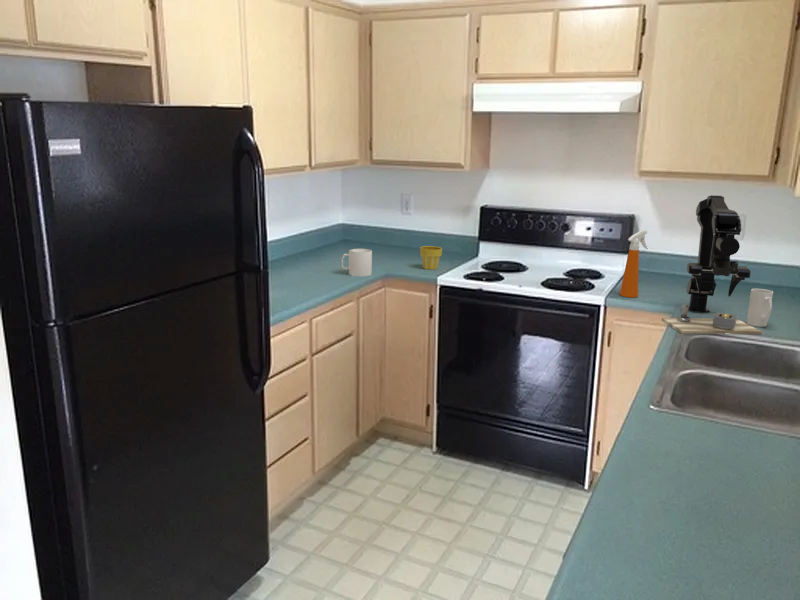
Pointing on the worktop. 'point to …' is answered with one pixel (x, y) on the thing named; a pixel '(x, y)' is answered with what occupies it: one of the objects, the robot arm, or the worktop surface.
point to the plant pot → (430, 256)
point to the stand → (684, 314)
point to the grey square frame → (724, 320)
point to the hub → (724, 327)
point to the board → (708, 327)
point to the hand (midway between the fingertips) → (714, 295)
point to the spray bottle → (632, 266)
